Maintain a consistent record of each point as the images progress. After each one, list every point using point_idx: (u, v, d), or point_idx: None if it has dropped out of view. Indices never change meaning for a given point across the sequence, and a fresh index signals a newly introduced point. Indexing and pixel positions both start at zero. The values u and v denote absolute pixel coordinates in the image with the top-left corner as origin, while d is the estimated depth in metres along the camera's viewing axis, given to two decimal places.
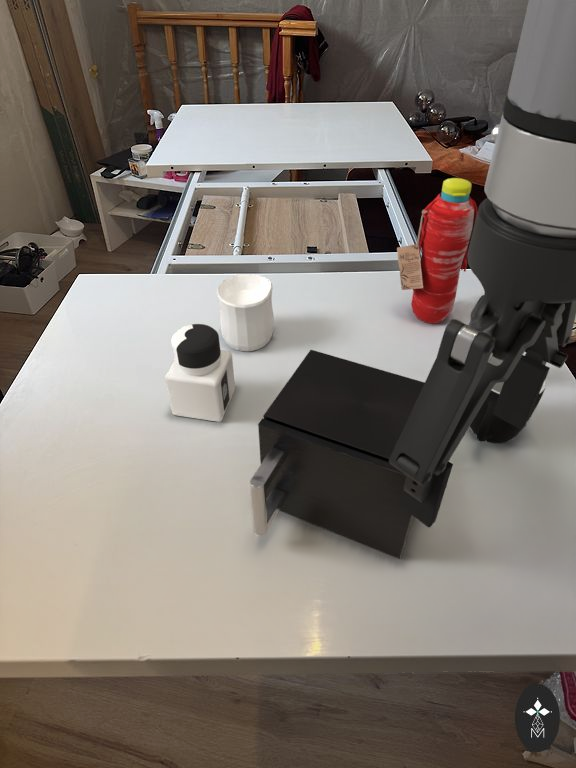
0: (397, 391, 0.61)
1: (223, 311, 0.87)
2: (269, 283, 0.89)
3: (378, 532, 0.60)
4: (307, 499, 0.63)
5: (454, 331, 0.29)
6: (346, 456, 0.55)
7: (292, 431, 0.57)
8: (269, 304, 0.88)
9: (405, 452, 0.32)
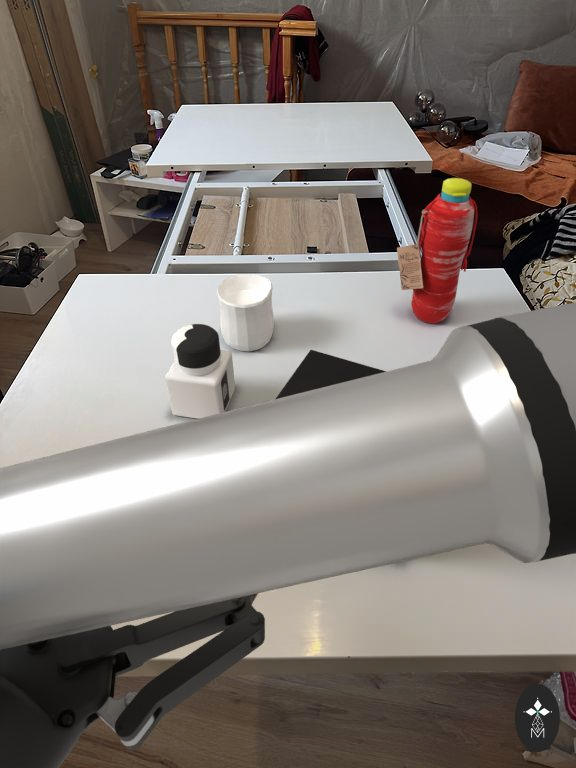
0: None
1: (223, 311, 0.87)
2: (269, 283, 0.89)
3: None
4: None
5: (135, 745, 0.29)
6: None
7: None
8: (269, 304, 0.88)
9: (249, 648, 0.33)
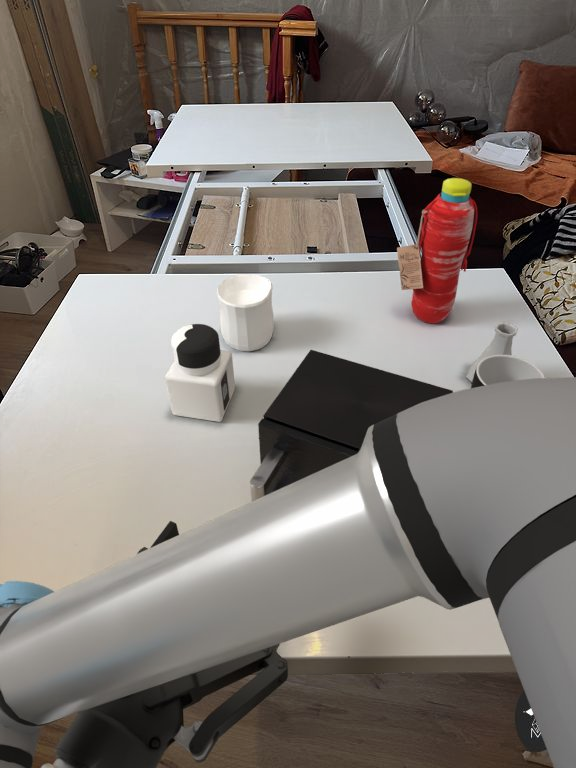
0: (397, 391, 0.61)
1: (223, 311, 0.87)
2: (269, 283, 0.89)
3: None
4: None
5: (202, 759, 0.42)
6: (346, 456, 0.55)
7: (292, 431, 0.57)
8: (269, 304, 0.88)
9: (277, 684, 0.46)
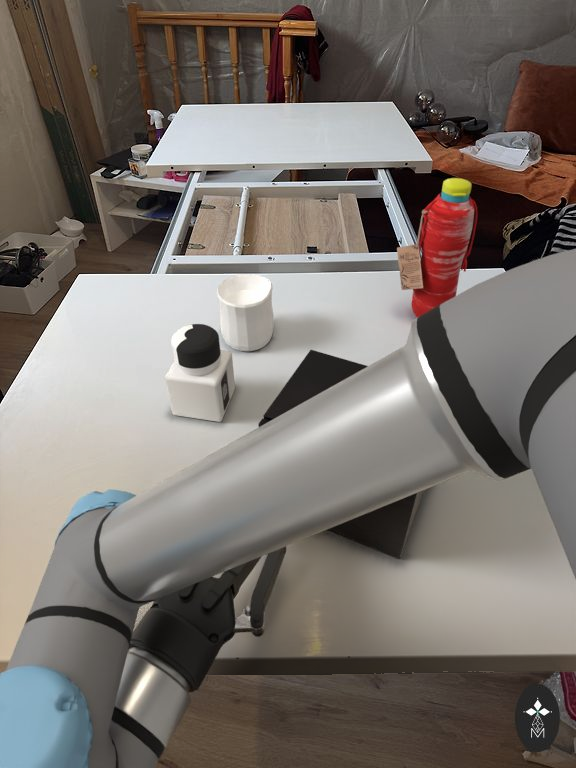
0: None
1: (223, 311, 0.87)
2: (269, 283, 0.89)
3: (378, 532, 0.60)
4: None
5: (263, 630, 0.49)
6: None
7: None
8: (269, 304, 0.88)
9: (283, 554, 0.55)
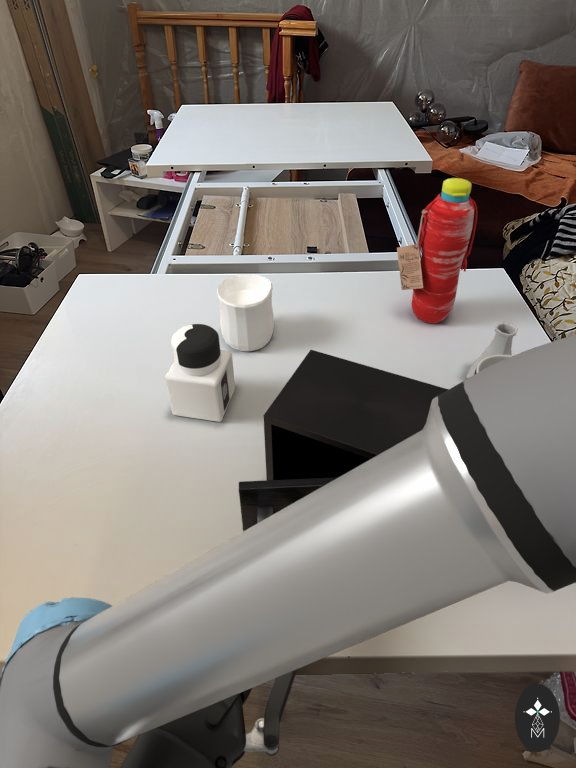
0: (397, 391, 0.61)
1: (223, 311, 0.87)
2: (269, 283, 0.89)
3: None
4: None
5: (277, 749, 0.42)
6: None
7: (278, 482, 0.52)
8: (269, 304, 0.88)
9: None
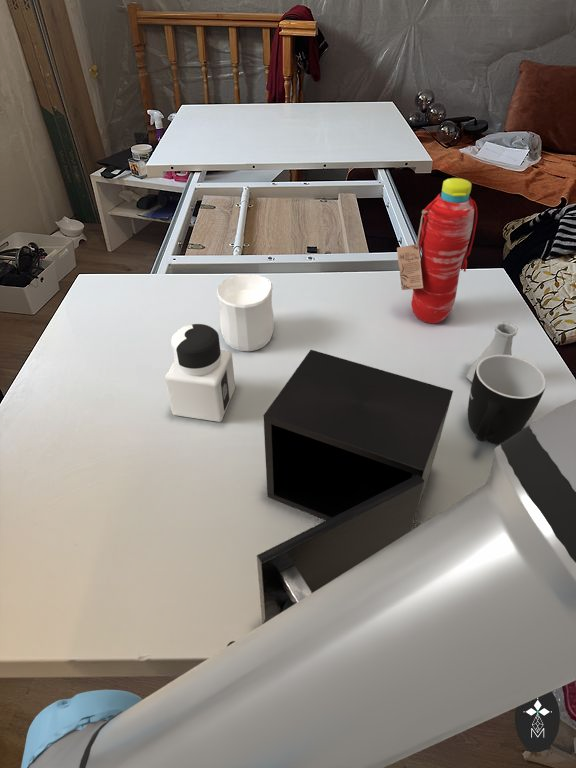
0: (397, 391, 0.61)
1: (223, 311, 0.87)
2: (269, 283, 0.89)
3: None
4: (318, 588, 0.54)
5: None
6: (360, 515, 0.49)
7: (297, 538, 0.47)
8: (269, 304, 0.88)
9: None
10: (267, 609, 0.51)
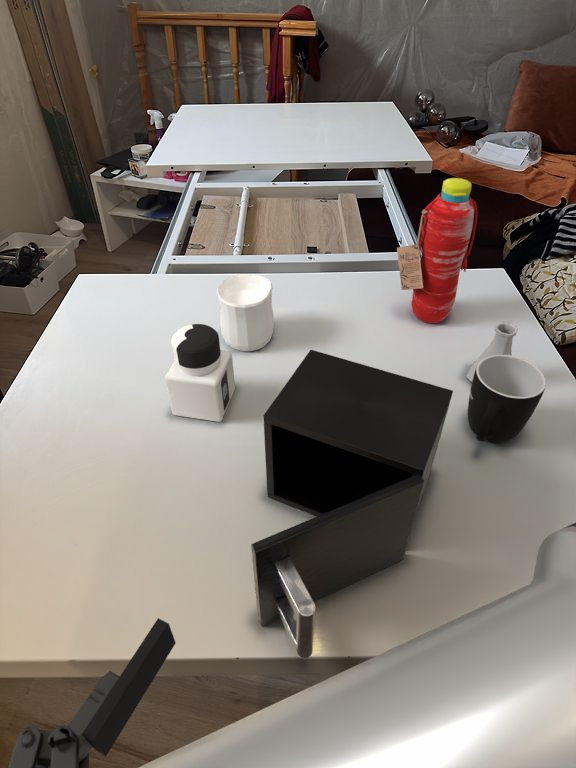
0: (397, 391, 0.61)
1: (223, 311, 0.87)
2: (269, 283, 0.89)
3: (385, 553, 0.58)
4: (314, 581, 0.55)
5: None
6: (356, 511, 0.50)
7: (292, 530, 0.48)
8: (269, 304, 0.88)
9: None
10: (261, 599, 0.52)
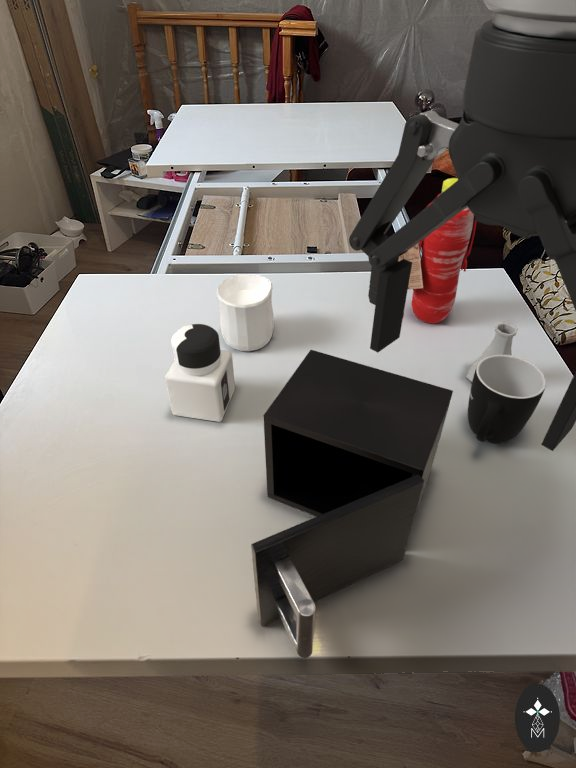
0: (397, 391, 0.61)
1: (223, 311, 0.87)
2: (269, 283, 0.89)
3: (385, 553, 0.58)
4: (314, 581, 0.55)
5: None
6: (356, 511, 0.50)
7: (292, 530, 0.48)
8: (269, 304, 0.88)
9: None
10: (261, 599, 0.52)
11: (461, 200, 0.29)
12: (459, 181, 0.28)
